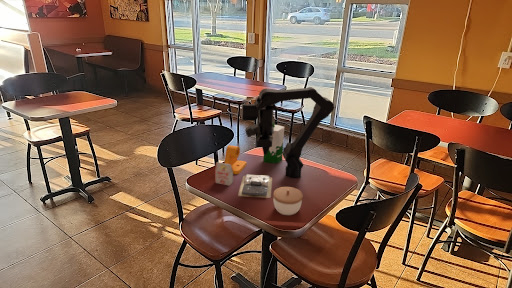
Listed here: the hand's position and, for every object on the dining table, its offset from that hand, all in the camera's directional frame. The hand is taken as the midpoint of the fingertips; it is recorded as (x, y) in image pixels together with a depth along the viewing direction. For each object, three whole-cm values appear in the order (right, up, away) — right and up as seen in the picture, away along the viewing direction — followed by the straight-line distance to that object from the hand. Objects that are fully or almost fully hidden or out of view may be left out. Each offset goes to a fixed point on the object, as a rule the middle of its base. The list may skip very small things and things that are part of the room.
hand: (265, 154), depth 141 cm
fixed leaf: (-4, -12, 0) cm, 13 cm away
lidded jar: (+8, -21, -19) cm, 30 cm away
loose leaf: (-4, -14, -8) cm, 17 cm away
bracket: (-13, -8, +12) cm, 20 cm away
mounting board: (-4, -14, -4) cm, 15 cm away
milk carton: (+5, -4, +22) cm, 23 cm away
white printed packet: (-18, -13, -1) cm, 22 cm away
